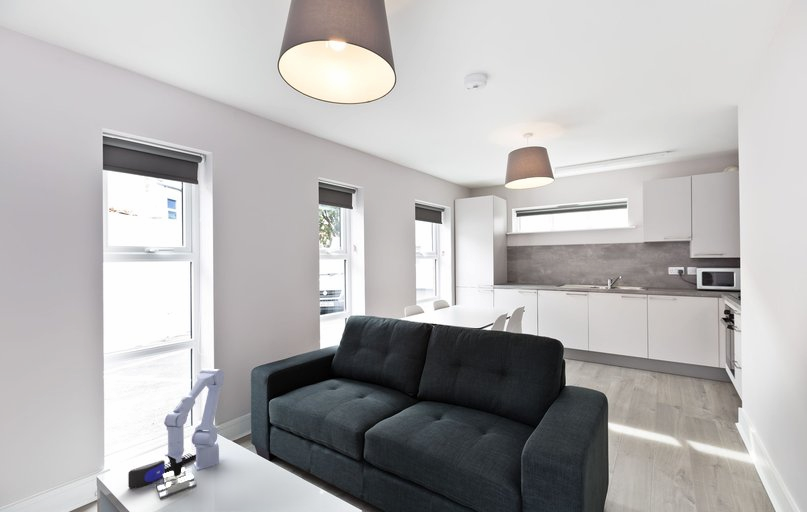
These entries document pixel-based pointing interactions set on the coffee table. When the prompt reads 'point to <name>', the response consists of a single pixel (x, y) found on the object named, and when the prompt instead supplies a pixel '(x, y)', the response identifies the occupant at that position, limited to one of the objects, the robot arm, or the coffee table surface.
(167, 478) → the rail plate
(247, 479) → the coffee table surface
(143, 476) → the leaning round-cornered charcoal block
